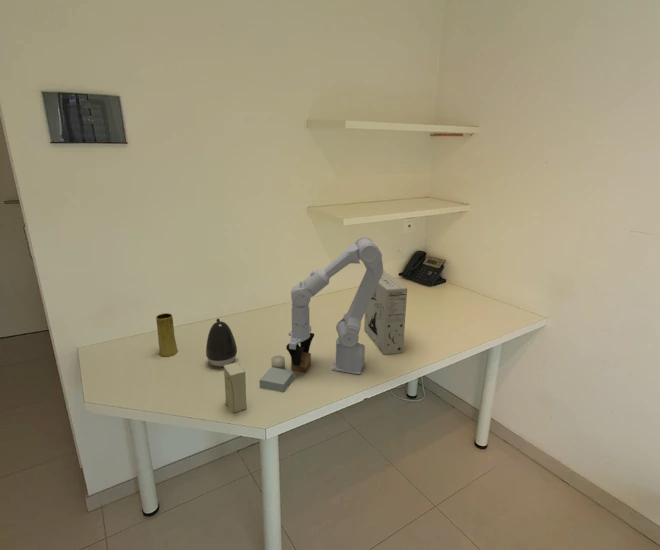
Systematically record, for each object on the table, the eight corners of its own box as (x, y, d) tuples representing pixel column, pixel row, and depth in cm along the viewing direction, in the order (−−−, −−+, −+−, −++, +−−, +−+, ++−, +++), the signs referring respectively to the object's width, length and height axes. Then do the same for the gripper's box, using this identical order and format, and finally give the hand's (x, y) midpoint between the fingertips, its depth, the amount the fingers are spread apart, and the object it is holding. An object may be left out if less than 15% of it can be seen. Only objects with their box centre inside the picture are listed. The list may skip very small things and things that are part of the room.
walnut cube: (310, 366, 138) (310, 353, 136) (305, 373, 133) (305, 360, 132) (297, 363, 139) (296, 350, 138) (291, 371, 135) (291, 357, 133)
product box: (363, 330, 165) (366, 271, 158) (381, 328, 167) (384, 270, 160) (383, 355, 145) (387, 289, 138) (403, 353, 147) (407, 287, 140)
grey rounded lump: (287, 367, 137) (286, 356, 136) (281, 374, 133) (281, 363, 132) (275, 365, 138) (274, 354, 137) (269, 371, 134) (269, 361, 133)
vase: (175, 356, 143) (171, 319, 139) (157, 357, 142) (152, 320, 138) (179, 348, 149) (175, 312, 145) (161, 349, 148) (156, 313, 144)
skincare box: (225, 402, 118) (222, 365, 114) (240, 397, 120) (237, 361, 116) (232, 414, 113) (229, 375, 109) (247, 409, 115) (245, 371, 111)
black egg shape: (235, 353, 146) (232, 314, 141) (239, 367, 136) (237, 325, 132) (205, 358, 142) (202, 317, 138) (208, 372, 133) (204, 330, 128)
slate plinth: (293, 379, 130) (293, 371, 129) (283, 393, 123) (283, 384, 122) (271, 375, 133) (270, 367, 132) (259, 388, 125) (259, 379, 124)
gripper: (297, 311, 139) (297, 347, 143) (279, 328, 126) (280, 367, 130) (317, 314, 137) (316, 350, 141) (301, 332, 124) (301, 371, 128)
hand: (300, 359), depth 135 cm, fingers open, 7 cm apart
